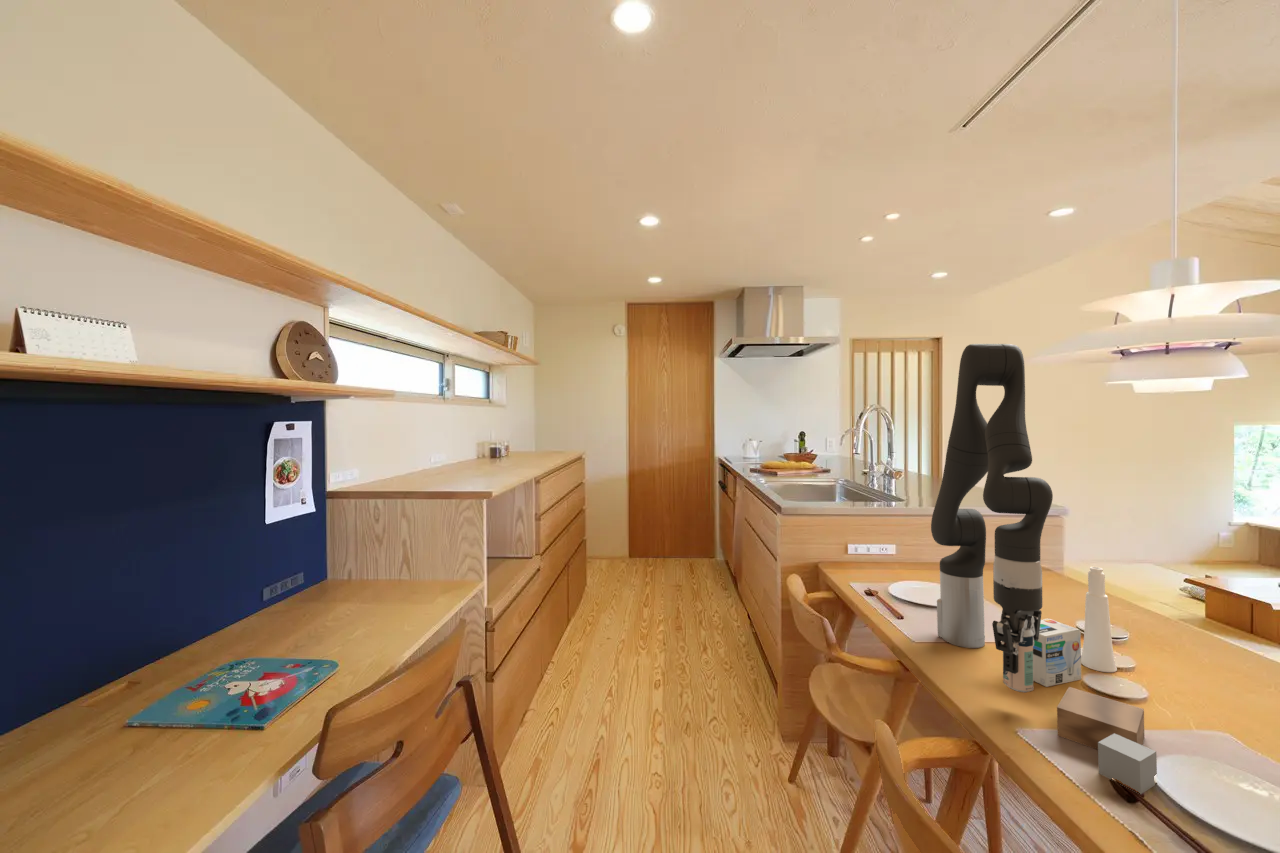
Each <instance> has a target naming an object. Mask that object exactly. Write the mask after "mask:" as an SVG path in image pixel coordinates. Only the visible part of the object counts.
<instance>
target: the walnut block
mask: <svg viewBox="0 0 1280 853" xmlns="http://www.w3.org/2000/svg"><path fill="white" fill-rule="evenodd" d="M1056 715H1057V716H1056V717H1057V718H1056V720H1057V721H1056V722H1057V725H1056V726H1057V736H1058V737H1061V738H1064V739H1067V740H1069V741H1072V742H1076V743H1078V744H1081V745H1082V746H1083V745H1084V746H1087V747H1089V748H1092V749H1094V750H1097V751H1098V742H1099V741H1101V740H1103V739H1105V738H1107V737H1108V736H1110V735H1112V734H1114V733H1115V734H1117V735H1119V736H1122V737H1124V738H1126V739H1129V740H1131V741H1133V742H1136V743H1138V744H1140V745H1143V744H1144V742H1145V710H1144V708H1142V707H1139V706H1136V705H1132V704H1128V703H1125V702H1121V701H1117V700H1115V699H1111V698H1107V697H1104V696H1101V695H1098V694H1095V693H1092V692H1088V691H1085V690H1081V689H1078V688H1075V687H1071V686H1068V688H1067V689H1066V691H1065V693H1064V694H1063V696H1062V697H1061V700H1060V701H1059V703H1058V705H1057V706H1056ZM1143 746H1144V745H1143Z"/></svg>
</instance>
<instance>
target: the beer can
mask: <svg viewBox="0 0 1280 853" xmlns="http://www.w3.org/2000/svg"><path fill="white" fill-rule="evenodd" d="M1011 636H1013V637H1017V636H1018V634H1013V633H1011ZM1012 643H1013V644H1014V642H1013V641H1012ZM1002 683H1003V684H1004V685H1005V686H1006V687H1008V689H1010V690H1013V691H1016V692H1019V693H1029V692H1033V691H1034V681H1033V632H1032V630H1031V629H1030V628H1028V627H1027V628H1026V629H1025V632H1024V639H1023V642H1022V643H1020V644H1019V650H1018V673H1016V674H1014V673H1011V672H1008V671H1006V670H1005V669H1004V666H1003V665H1002Z"/></svg>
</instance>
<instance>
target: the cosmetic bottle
mask: <svg viewBox="0 0 1280 853" xmlns="http://www.w3.org/2000/svg"><path fill="white" fill-rule="evenodd" d="M1103 571H1104V569H1103V568H1102V567H1099V566H1089V570H1088V572H1087V583H1088V584H1087V588H1088V589H1087V590H1088V591H1087V592H1086V593H1085V600H1084V601H1085V606H1084V607H1085V609H1084V627H1083V628H1084V632H1083V634H1084V635H1083V643H1082V644H1083V645H1082V649H1081V665H1083V666H1084V667H1086V668H1087V669H1091V670H1094V671H1098V672H1102V673H1116V672H1117V671H1118V668H1117V664H1116V660H1115V653H1114V648H1113V639H1112V629H1111V618H1110V605H1109V597H1108V596H1109V595H1107V594H1106V579H1105V578H1106V574H1105V573H1104V572H1103Z"/></svg>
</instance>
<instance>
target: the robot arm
mask: <svg viewBox="0 0 1280 853" xmlns="http://www.w3.org/2000/svg"><path fill="white" fill-rule="evenodd" d="M1023 354H1024V353H1023V351H1022V349H1021V348H1020V347H1019V346H1018V345H1017V344H1011V343H971V344H968V345H966V346H965V347H964V349H963V351H962V354H961V356H960V361H959V366H958V367H959V369H958V377H957V390H956V398H955V399H956V400H955V408H954V414H953V418H952V424H951V429H950V434H949V438H948V442H947V443H948V444H947V448H946V453H945V461H944V468H943V472H942V473H943V474H942V478H941V479H942V480H941V484H940V488H939V491H938V496H937V498H936V502H935V505H934V509H933V513H932V515H931V520H930V521H931V522H930V531H931V536H932V539H933V540H934V542H935V543H936V544H938V545H940V546H945V547H959V548H958V549H957V550H956V551H955V552H953V553H950V554H949V555H946V556H944V557H942V558H940V560H939V582H940V583H939V584H940V586H939V587H940V589H939V590H940V598H938V599H937V600H936V617H937V618H936V620H937V622H936V623H937V626H936V627H937V637H938V636H940V637H939V638H941V637H942V638H943V639H942V638H941V639H942V640H943V641H945V640H946V641H947V643H948V642H949V643H948V644H951V645H953V646H958V647H961V648H966V649H967V648H968V649H977V648H979V649H980V648H983V647H984V646H985V645H986V635H985V632H986V631H985V600H984V598H985V596H984V594H985V593H984V568H985V565H986V550H987V549H986V544H987V526H986V521H985V519H984V516H983V515H982V514H981V512H980V511H979V510H977V509H975V508H960V505H961V503H962V501H963V500H964V498H965V497H966V495H967V494H968V493H969V492H970V491H971V490H973V488H974V487H975V486H976V485H977V484H978V483H980V481H981V480H982V479H983V478H985V476H986V479H985V483H984V488H983V492H982V493H983V494H982V498H983V503H984V504H985V506H986V507H987V509H989V511H992V512H993V513H998V514H1014V515H1024V517H1023V518H1022V519H1021V520H1020V521H1018V522H1015V523H1007V524H1003V525H1002V524H1001V525H999V526H996V528H995V530H994V559H993V566H992V567H993V568H992V569H993V571H992V573H993V577H992V578H993V582H992V583H993V584H992V585H993V588H992V589H993V590H992V591H993V593H992V594H993V601H994V602H995V603H996V604H997V605H999V606H1000V607H1001V608H1002V611H1001V613H1000V614H1001V615H1000V621H997V620H993V621H992V625H991V626H992V632H993V638H994V644H995V649H996V650H998V651H1001V652H1002V667H1003V666H1004V669H1005V670H1006V671H1008V672H1011V673H1014V674H1016V673H1018V650H1019V644H1020V643H1022V642H1023V639H1024V632H1025V629H1026V628H1027V627H1028V628H1030V629H1031V630H1032V632H1033V646H1034V640H1035V641H1038V639H1039V631H1040V622H1041V620H1042V608H1043V569H1042V568H1043V567H1042V565H1041V537H1042V533H1043V529H1044V525H1045V523H1046V520H1047V517H1048V514H1049V511H1050V509H1051V507H1052V504H1053V490H1052V488H1051V486H1050V485H1049V483H1048V482H1047V481H1046V480H1045V479H1042V478H1041V477H1033V476H1025V477H1023V476H1004V475H1006V474H1009V473H1016V472H1020V471H1023V470H1027V469H1028V468H1029V467H1030V466H1032V464H1033V455H1032V450H1031V445H1030V439H1029V435H1028V430H1027V421H1026V371H1025V369H1026V368H1025V359H1024V358H1025V357H1024V355H1023ZM978 386H985V387H986V386H991V387H992V386H993V387H994V386H995V387H1001V386H1002V387H1003V389H1004V395H1003V397H1002V401H1001V402H1000V404H999V406H998V407H997V408H996V409H995V411H994V412H993V414H992V415H991V417H990V418H989V419H988V421H986V419H985V417H984V415H983V414H982V411H981V409H980V406H979V404H978V399H977V388H978ZM1011 633H1013V634H1018V636H1017V637H1013V636H1011ZM946 641H945V642H946ZM1012 641H1013V642H1014V644H1013V643H1012Z"/></svg>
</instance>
